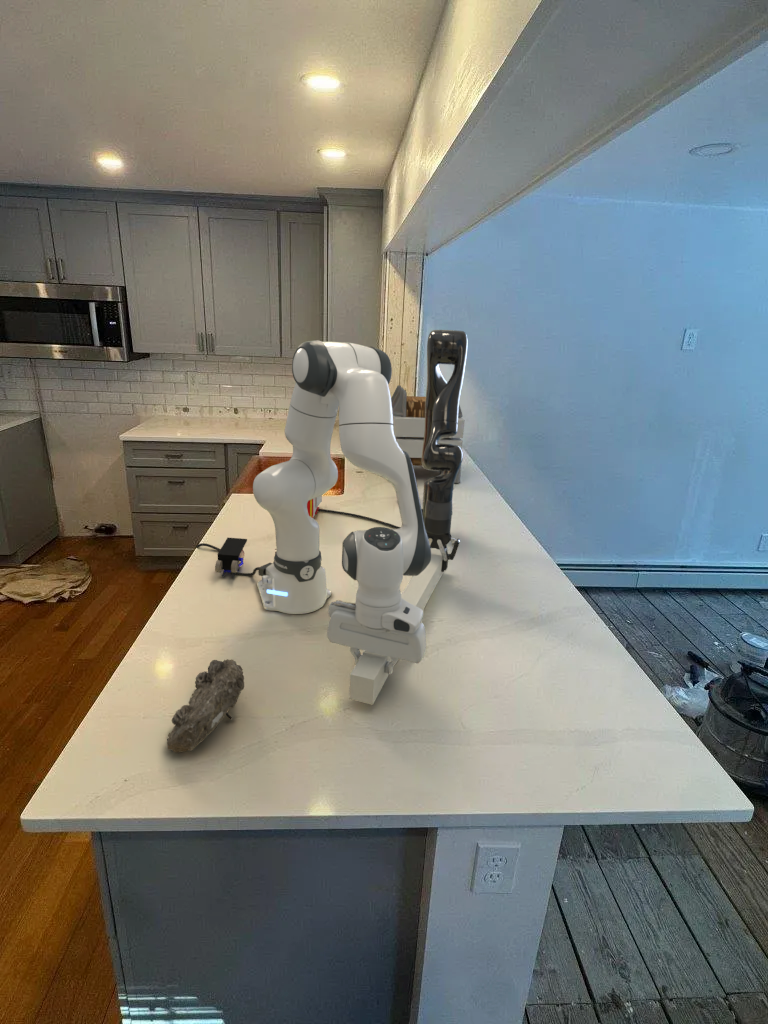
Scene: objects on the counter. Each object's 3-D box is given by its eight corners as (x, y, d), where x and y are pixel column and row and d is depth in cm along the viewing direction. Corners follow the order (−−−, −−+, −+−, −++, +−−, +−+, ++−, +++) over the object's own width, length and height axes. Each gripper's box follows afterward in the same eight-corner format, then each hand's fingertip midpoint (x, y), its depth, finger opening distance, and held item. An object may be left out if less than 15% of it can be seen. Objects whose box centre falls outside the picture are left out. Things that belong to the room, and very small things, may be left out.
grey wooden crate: (382, 463, 289) (386, 382, 275) (445, 464, 293) (451, 384, 279) (390, 482, 257) (394, 392, 243) (460, 483, 261) (468, 394, 247)
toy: (323, 481, 222) (316, 494, 193) (322, 514, 225) (316, 532, 196) (292, 480, 222) (280, 493, 193) (292, 513, 225) (281, 532, 195)
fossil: (192, 660, 117) (244, 628, 112) (224, 691, 120) (276, 661, 115) (142, 746, 98) (202, 712, 93) (182, 779, 101) (242, 748, 96)
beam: (431, 562, 172) (432, 544, 170) (447, 565, 171) (448, 547, 169) (348, 699, 111) (349, 674, 109) (372, 705, 110) (373, 679, 108)
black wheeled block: (238, 584, 162) (249, 557, 175) (236, 562, 158) (247, 536, 172) (215, 584, 161) (227, 556, 175) (212, 561, 158) (225, 535, 171)
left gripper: (322, 605, 111) (321, 664, 116) (423, 628, 106) (417, 689, 111) (335, 591, 117) (333, 648, 122) (431, 612, 111) (425, 671, 116)
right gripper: (410, 514, 157) (406, 570, 163) (461, 522, 153) (455, 579, 159) (416, 506, 164) (413, 560, 170) (466, 513, 160) (460, 568, 166)
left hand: (374, 668), depth 116 cm, fingers closed on beam, 5 cm apart
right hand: (433, 569), depth 164 cm, fingers closed on beam, 5 cm apart
